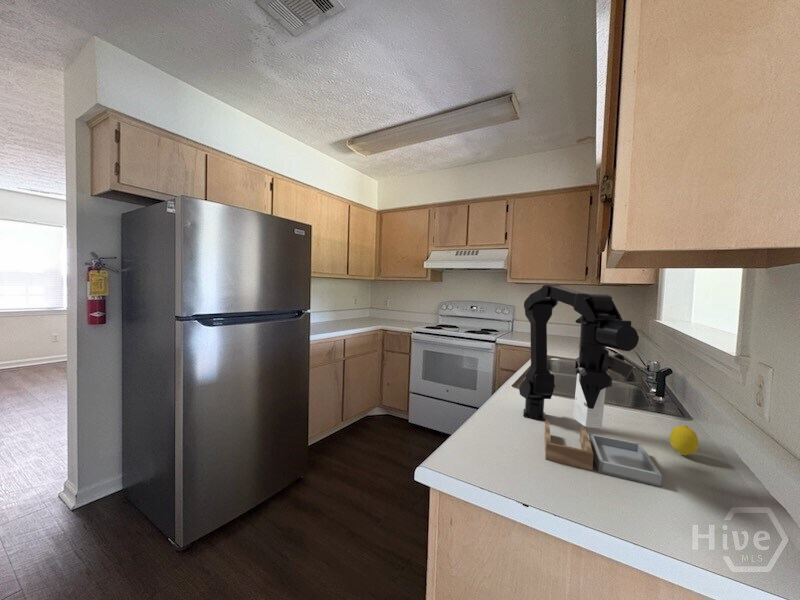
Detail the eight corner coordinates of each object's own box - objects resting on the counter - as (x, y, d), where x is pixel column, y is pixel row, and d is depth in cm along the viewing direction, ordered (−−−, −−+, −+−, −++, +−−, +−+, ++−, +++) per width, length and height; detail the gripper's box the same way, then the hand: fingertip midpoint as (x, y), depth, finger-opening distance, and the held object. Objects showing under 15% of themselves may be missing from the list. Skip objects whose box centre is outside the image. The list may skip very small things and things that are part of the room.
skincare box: (572, 417, 84) (574, 372, 83) (588, 418, 84) (591, 373, 84) (586, 428, 78) (589, 379, 77) (604, 428, 78) (607, 380, 77)
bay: (544, 433, 92) (545, 420, 92) (583, 441, 88) (584, 427, 88) (545, 459, 78) (546, 443, 78) (592, 470, 74) (593, 453, 74)
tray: (588, 442, 87) (589, 433, 87) (639, 453, 83) (640, 443, 83) (598, 472, 73) (599, 461, 73) (660, 487, 68) (661, 475, 68)
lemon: (670, 447, 86) (672, 419, 86) (697, 456, 82) (700, 426, 82) (667, 454, 83) (670, 424, 82) (696, 463, 79) (699, 432, 78)
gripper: (641, 353, 68) (637, 424, 69) (622, 341, 85) (618, 398, 86) (582, 347, 73) (578, 414, 74) (575, 337, 90) (572, 391, 90)
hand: (588, 403), depth 81 cm, fingers closed on skincare box, 7 cm apart
